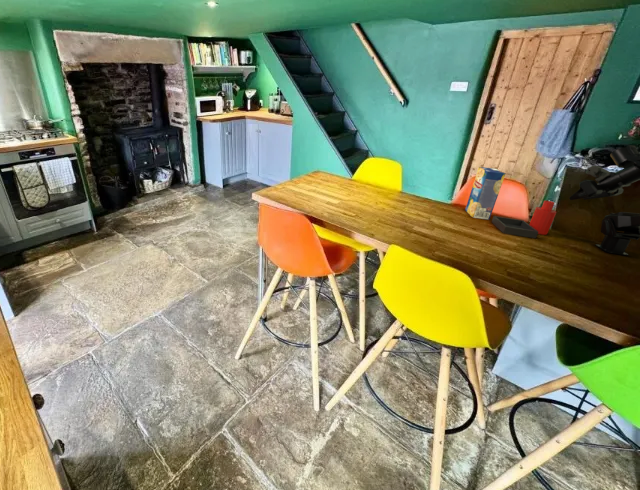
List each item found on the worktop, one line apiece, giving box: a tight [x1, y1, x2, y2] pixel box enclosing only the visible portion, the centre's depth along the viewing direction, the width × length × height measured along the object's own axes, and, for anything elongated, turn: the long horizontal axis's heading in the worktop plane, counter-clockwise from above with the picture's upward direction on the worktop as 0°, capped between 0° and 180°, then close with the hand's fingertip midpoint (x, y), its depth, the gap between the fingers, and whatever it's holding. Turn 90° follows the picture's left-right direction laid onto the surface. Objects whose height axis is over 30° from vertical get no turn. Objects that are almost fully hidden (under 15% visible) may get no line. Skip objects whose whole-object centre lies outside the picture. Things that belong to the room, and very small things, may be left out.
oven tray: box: [491, 215, 539, 239], centre depth 128 cm, size 13×11×3 cm
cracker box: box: [464, 166, 507, 221], centre depth 141 cm, size 7×11×22 cm, turn 162°
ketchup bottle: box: [528, 200, 558, 236], centre depth 126 cm, size 6×6×14 cm
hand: (576, 198), depth 124 cm, fingers open, 9 cm apart
